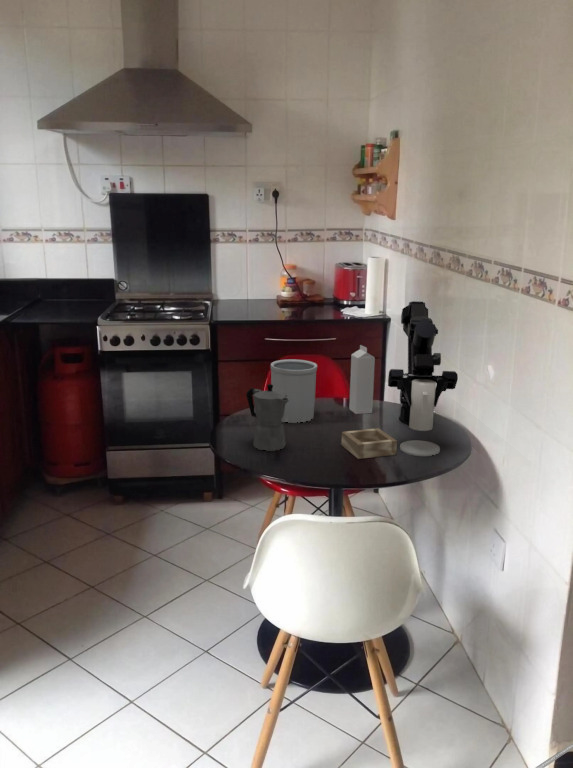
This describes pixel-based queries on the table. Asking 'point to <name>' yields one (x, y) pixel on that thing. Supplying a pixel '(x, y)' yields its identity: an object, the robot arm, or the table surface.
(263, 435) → the coffeepot
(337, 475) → the table surface
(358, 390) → the milk
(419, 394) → the jug
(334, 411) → the table surface
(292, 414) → the utensil holder
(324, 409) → the table surface
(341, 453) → the table surface
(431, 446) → the mat
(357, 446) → the stand
